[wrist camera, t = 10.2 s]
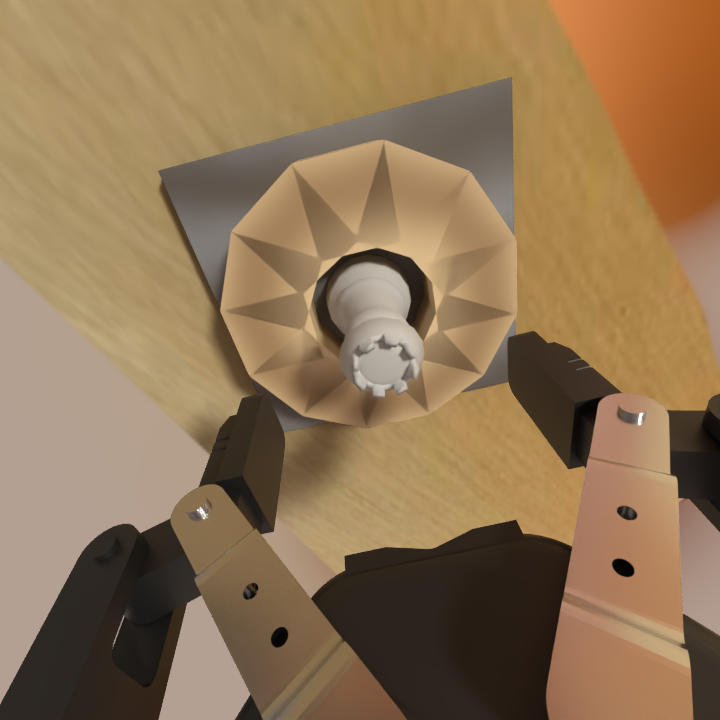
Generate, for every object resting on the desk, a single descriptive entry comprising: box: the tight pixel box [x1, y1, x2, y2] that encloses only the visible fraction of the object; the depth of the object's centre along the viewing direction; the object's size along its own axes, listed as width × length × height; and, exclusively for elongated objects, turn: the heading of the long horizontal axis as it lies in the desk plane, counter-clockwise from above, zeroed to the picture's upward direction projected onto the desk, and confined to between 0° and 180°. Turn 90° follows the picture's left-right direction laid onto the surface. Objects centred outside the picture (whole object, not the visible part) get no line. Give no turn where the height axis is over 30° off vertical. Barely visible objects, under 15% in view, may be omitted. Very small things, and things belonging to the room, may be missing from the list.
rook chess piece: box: [326, 254, 425, 399], centre depth 17 cm, size 4×4×8 cm
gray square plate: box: [158, 77, 517, 432], centre depth 20 cm, size 16×16×4 cm
